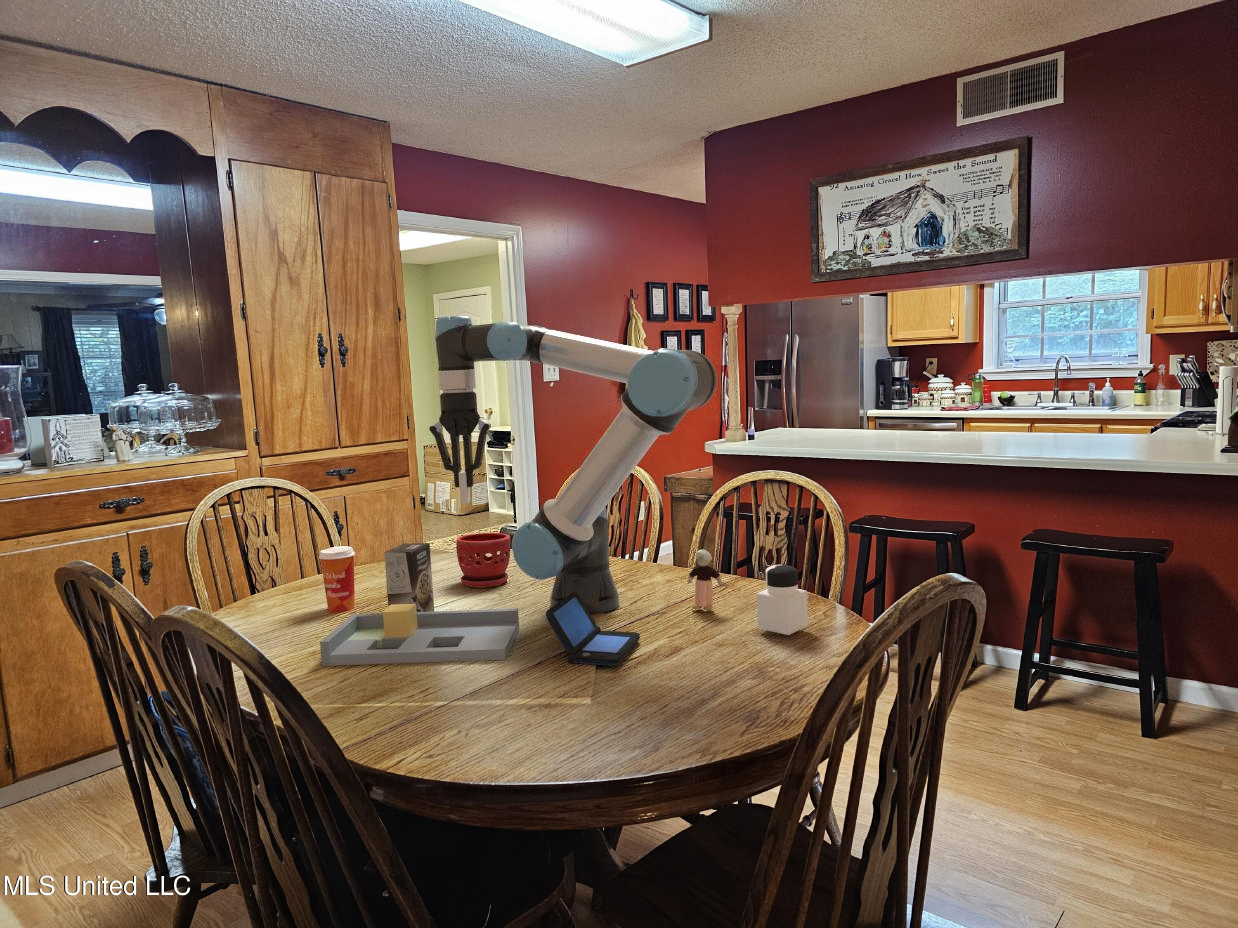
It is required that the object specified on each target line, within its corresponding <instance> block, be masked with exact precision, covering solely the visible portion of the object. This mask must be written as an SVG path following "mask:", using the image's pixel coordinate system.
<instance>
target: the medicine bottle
mask: <svg viewBox="0 0 1238 928" xmlns="http://www.w3.org/2000/svg"><path fill="white" fill-rule="evenodd" d="M798 573H799V571H798V569H797V568H796V567H795V566H792V565H788V564H774V565H771V566H769V567H767V568H766V569H765V588H766V589H764V590H762V591H759V592H757V593H756V610H757V613H756V617H757V629H759V630H763V631H764V630H765V631H768V632H773V633H776V634H777V633H778V634H782V635H786V636H790V635H792V634H794V633H797V632H798V631H800V630H802V629H804V628H806V627H807V626H808V624H809V623H808V622H809V618H808V617H809V616H808V614H809V613H808V612H809V611H808V591H807V590H806V589H805V590H804V589H800V588H799V576H798V575H799V574H798Z"/></svg>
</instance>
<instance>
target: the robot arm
mask: <svg viewBox="0 0 1238 928" xmlns="http://www.w3.org/2000/svg"><path fill="white" fill-rule="evenodd" d="M434 340H435V346H436V347H435V348H436V356H437V365H438V369H437V370H438V372H437V373H438V390H439V391H442V393H440V394H439V400H440V403H439V404H440V415H439V419H438V421H437V422H436V423H435V424H433V425H431V426H429V428H428V430H429V431H430V433H431V435H433V436H434V440H435V442H436V446H437V449H438V452H439V455H440V459H441V461H442V464H443V468H444V470H445V471H450V472H452V473H453V480H454V487H455V488H459V501H460V505H461V504H462V505H463V504H464V505H465V504H469V503H470V502H471V493H470V491H471V490H470V488H472V487H474V485H475V482H474V472H475V471H476V470H479V469H480V468H481V467H482V466H483V465H482V464H483V458H484V452H485V446H486V442H487V441H486V440H487V436H488V434H489V432H490V429H491V428H492V424H491V423H490V422H487V421H484V420H483V419H482V418H481V416H480V415H481V414H479V411H478V401H477V393H476V392H475V391H474V390H475V389H476V388H477V385H476V370H475V362H476V363H477V362H495V361H496V362H497V361H498V362H500V361H501V362H502V361H503V362H505V361H526V362H528V361H529V362H531V363H536V364H542V365H545V366H546V365H547V366H549V367H551V366H552V367H555V368H559V369H563V370H569V371H572V372H577V373H581V374H586V375H589V376H593V377H599V378H602V379H607V380H611V381H615V382H618V383H619V382H620V383H625V384H627V387H626V389H625V391H623V392H622V394H621V396H620V400H621V401H620V402H621V406H622V408H621V410H620V411H619V412H618V414H617V415H616V417H615V418H614V419H613V421H612V422H611V424H610V425H609V426H608V427H607V429H606V430H605V432H604V433H603V435H602V436H601V437H600V439H599V440H598V441H597V443H596V444H595V446H594V447H593V449H592V450H591V451H590V453H589V454H588V455H587V457H586V458H585V460H584V461H583V462H582V464H581V465H580V466H579V468H578V470H577V471H576V472H575V474H574V475H573V476H572V478H570V481H569V482H568V483H567V485H566V486H565V488H564V489H563V490H562V491H561V493H560V495H559V496H558V497H557V498H552V499H548V500H546V501H545V502H544V503H543V505H542V506H541V508H540V509H539V511H538V512H537V513H536V514H535V516H534V517H533V519H532V520H531V521H530V522H529V521H528V522H525V523H523V524H522V526H520V527H519V528H517V529H516V530H515V532H514V535H513V537H512V539H511V550H512V553H513V559H514V561H515V563H516V565H517V566H518V568H519V569H520V570H521V572H523V573H524V574H525V575H526V576H529V577H530V578H533V579H536V580H547V579H551V578H555V579H554V582H553V586H552V589H551V594H550V597H549V601H550V606H549V607H550V608H552V607H553V606H554V605H556V604H557V603H558V602H560V601H561V600H562V599H564V598H565V597H566V596H568V595H569V594H570V593H572V592H576V593H577V594H578V595H579V597H580V599H581V600H582V602H583V603H584V605H585V607H586V608H587V610H588V613H589V614H590V615H595V614H596V615H597V614H602V613H607V612H609V611H612V610H615V609H616V608H618V606H619V605H620V597H619V592H618V588H617V586H616V584H615V581H614V578H613V575H612V572H611V569H610V552H609V551H610V550H609V548H610V547H609V526H608V522H609V518H608V513H607V512H608V511H607V508H606V506H607V505H608V504H609V503H610V501H611V500H612V499H613V497H614V496H615V494H616V493H617V492H619V491H618V490H619V489H620V488H621V487H622V485H623V484H624V483H625V481H626V480H627V479H628V477H629V476H630V475H631V474H632V472H633V471H634V469H635V468H636V467H637V465H638V464H639V463H640V462H641V460H642V459H643V457H644V456H645V455H646V453H647V452H648V451H649V449H650V448H651V447H652V445H653V444H654V443H655V442H656V440H657V439H658V438H659V436H661V435H670V434H671V433H672V432H673V431H674V430H675V429H676V427H677V426H678V424H680V422H681V421H682V419H683V418H684V417H685V416H686V415H687V413H688V412H689V411H693V410H697V409H698V408H702V407H703V406H704V405H705V406H706V404H707V403H708V402H709V401H710V400H711V399H712V398H713V396H714V395H715V392H716V389H717V385H718V375H717V370H716V368H715V366H714V364H713V363H712V361H711V359H709V358H708V357H707V356H706V355H705V354H703V353H701V352H698V351H696V350H692V349H673V348H663V347H661V348H659V349H657V350H648V349H644V348H638V347H635V346H630V345H625V344H622V343H621V344H620V343H616V342H612V341H606V340H602V339H596V338H592V337H588V336H582V335H578V334H573V333H572V334H571V333H569V332H564V331H563V332H562V331H559V330H554V329H548V328H546V327H544V326H540V325H535V324H530V325H527V324H519V323H517V322H509V321H499V322H496V323H495V322H493V323H485V324H473V323H472V318H471V317H469V316H467V315H466V316H464V315H451V316H450V315H449V316H448V315H447V316H441V317H439V318H437V319H436V321H435V337H434ZM477 426H478V427H477ZM476 427H477V428H478V430H479V434H478V439H477V444H476V449H475V455H474V456H475V457H474V458H473V446H472V445H473V444H472V443H473V442H472V434H473V432H474V431H475V429H476ZM443 428H444V429H445V431H446V432H447V434H449V437H450V438H449V439H450V443H451V445H450V446H451V455H450V452H449V450H448V447H447V443H446V439H445V437H444V434H443V431H444V430H443ZM460 438H462V443H463V444H462V445H463V456H464V457H463V458H464V471H462V470H463V468H462V461H461V447H460V446H461V444H460ZM473 459H474V460H473Z"/></svg>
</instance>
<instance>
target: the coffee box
mask: <svg viewBox="0 0 1238 928" xmlns="http://www.w3.org/2000/svg"><path fill="white" fill-rule="evenodd" d="M430 545H431V544H430V542H412V543H402V544H400V545H397V546H395V547H393V548H391V549H389V550H386V551H384V553H383V554H384V566H385V579H386V581H385V583H386V595H387V608H388V607H389V606H390V605H394V604H416V611H417V612H432V611H435V599H434V590H433V589H434V588H433V586H434V585H433V574H432V573H433V572H432V561H431V560H432V558H431V546H430Z"/></svg>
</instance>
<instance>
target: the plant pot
mask: <svg viewBox="0 0 1238 928" xmlns="http://www.w3.org/2000/svg"><path fill="white" fill-rule="evenodd" d="M455 545H456V547H455V548H456V557H457V562H458V565H459V568H460V571H461V572H462V574H463V575H462V576H461V577H460V582H461V583H462V584H463V585H464V586H466V587H469V588H473V589H474V588H475V589H486V588H487V589H488V588H493V587H498V586H500V585H502V584H504V583H505V582H507V581H508V578H509V574H508V573H507V572H506V571H507V569H508V566H509V564H510V558H511V536H510V534H506V533H501V532H482V533H481V532H480V533H471V534H469V533H468V534H465V535H460V536H458V537H457V538H456V544H455ZM498 553H499V554H498ZM487 554H490V556H488V555H487Z"/></svg>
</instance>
